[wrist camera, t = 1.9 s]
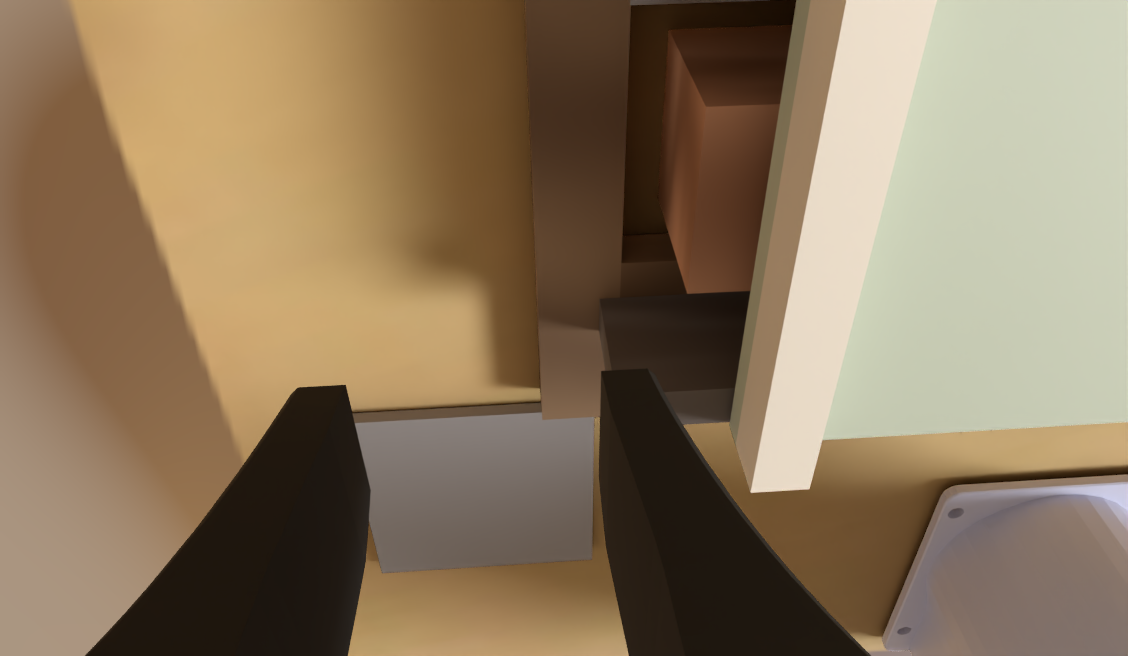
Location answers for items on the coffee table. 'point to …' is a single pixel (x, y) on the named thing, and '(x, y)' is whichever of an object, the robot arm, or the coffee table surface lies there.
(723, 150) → the block
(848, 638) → the robot arm
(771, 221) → the cover
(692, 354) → the board
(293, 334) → the coffee table surface
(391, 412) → the mat
